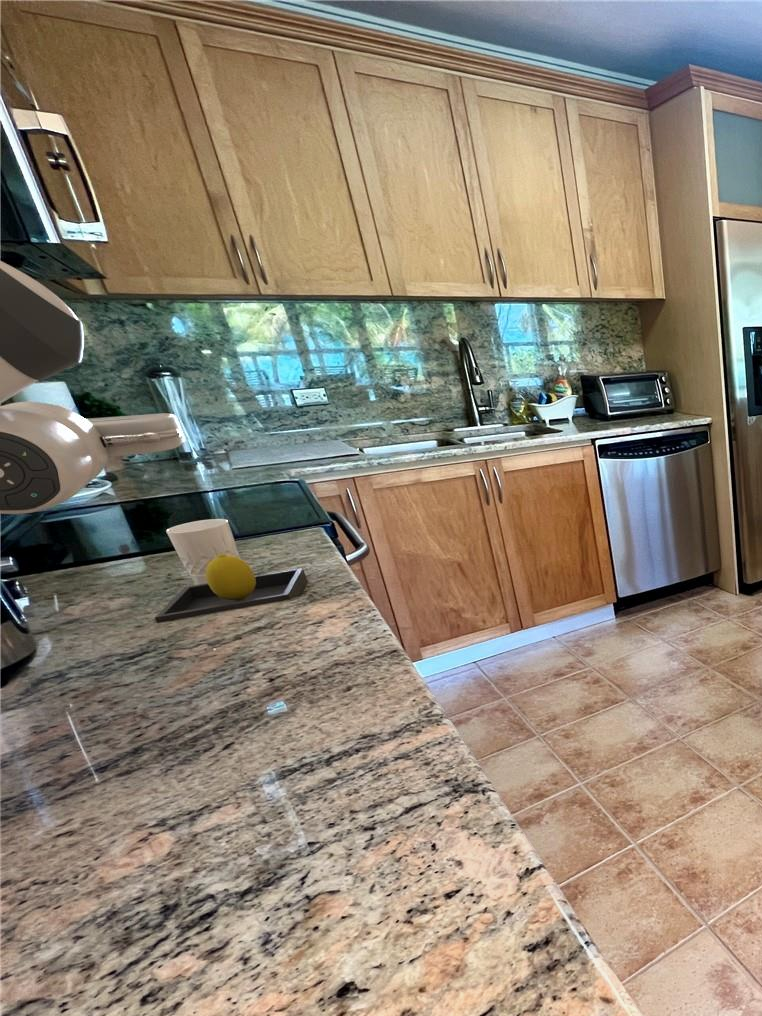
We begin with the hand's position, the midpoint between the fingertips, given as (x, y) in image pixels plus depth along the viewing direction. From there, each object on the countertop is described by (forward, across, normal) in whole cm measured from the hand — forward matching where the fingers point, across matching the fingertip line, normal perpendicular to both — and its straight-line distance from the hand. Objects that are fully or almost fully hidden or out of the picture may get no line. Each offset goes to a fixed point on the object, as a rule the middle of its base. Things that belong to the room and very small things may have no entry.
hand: (70, 432), depth 75 cm
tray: (+14, -7, +29) cm, 33 cm away
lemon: (+14, -7, +29) cm, 33 cm away
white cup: (+31, -4, +29) cm, 43 cm away
